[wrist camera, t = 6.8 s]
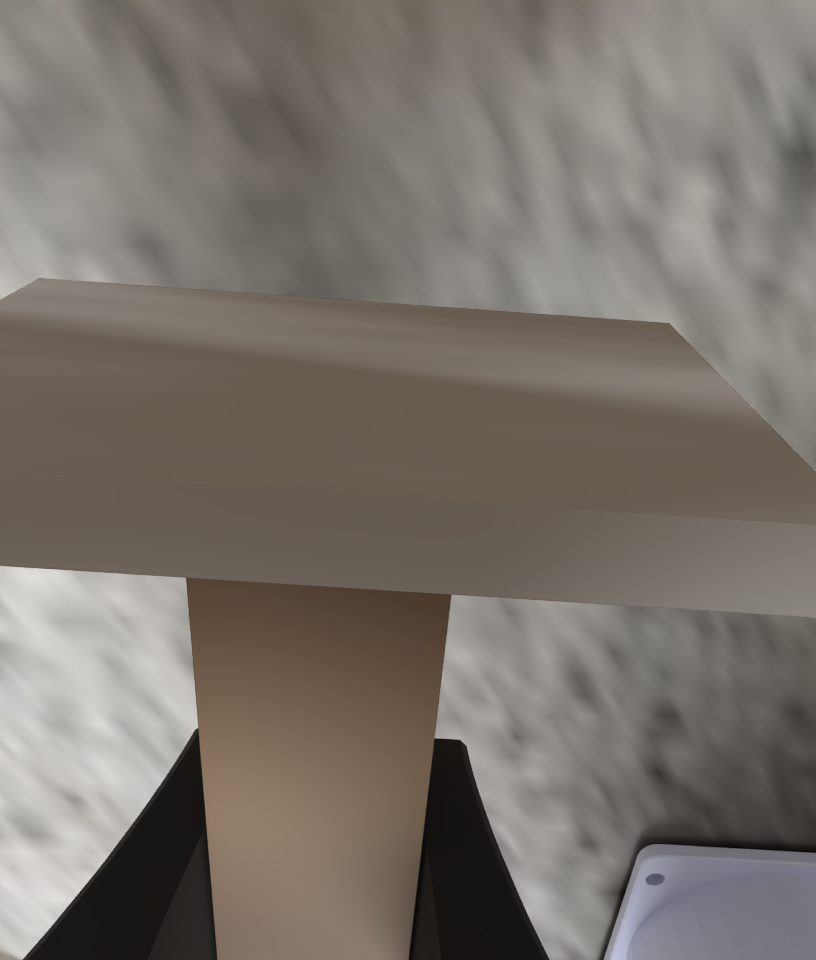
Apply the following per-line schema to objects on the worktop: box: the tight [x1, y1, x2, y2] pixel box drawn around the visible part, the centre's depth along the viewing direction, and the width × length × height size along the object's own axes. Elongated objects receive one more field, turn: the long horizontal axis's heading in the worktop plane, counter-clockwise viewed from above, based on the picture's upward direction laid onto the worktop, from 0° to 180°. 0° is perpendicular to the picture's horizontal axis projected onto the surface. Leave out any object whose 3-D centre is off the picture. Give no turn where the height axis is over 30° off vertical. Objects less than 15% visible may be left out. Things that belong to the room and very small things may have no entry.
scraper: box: [0, 278, 816, 960], centre depth 11 cm, size 14×8×5 cm, turn 176°
